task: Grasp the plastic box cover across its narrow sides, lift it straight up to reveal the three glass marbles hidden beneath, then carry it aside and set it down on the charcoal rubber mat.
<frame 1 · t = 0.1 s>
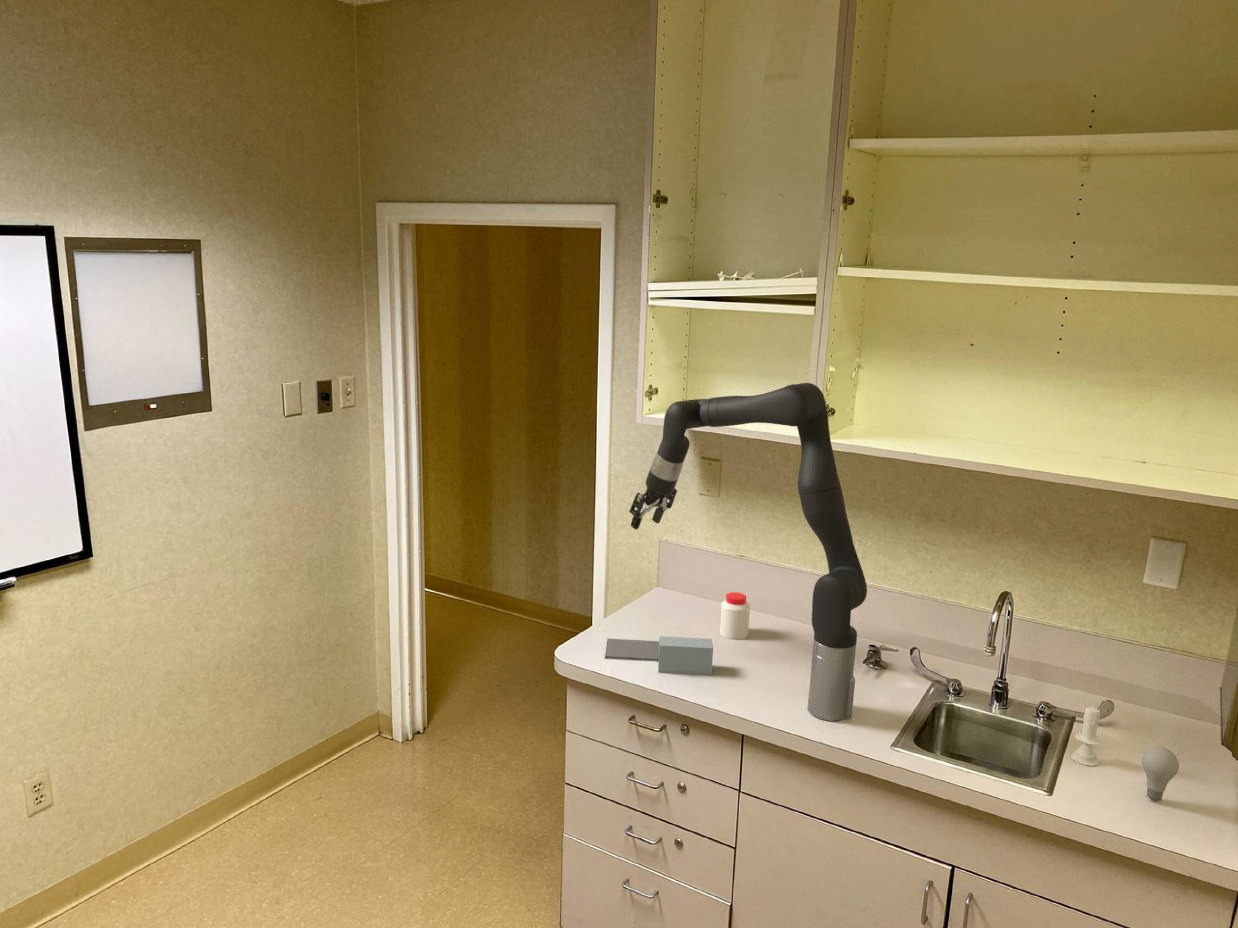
hand: (645, 524, 234), 31 cm above the worktop, tool tilted 20°, fingers open, 8 cm apart
cover: (684, 668, 223), on the worktop
marble amber: (700, 669, 223), on the worktop
marble white: (668, 667, 223), on the worktop
lightbulb: (1153, 801, 174), on the worktop
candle: (1084, 760, 188), on the worktop
pill bottle: (733, 634, 246), on the worktop
marble teal: (684, 662, 223), in the cover
mat: (633, 650, 232), on the worktop
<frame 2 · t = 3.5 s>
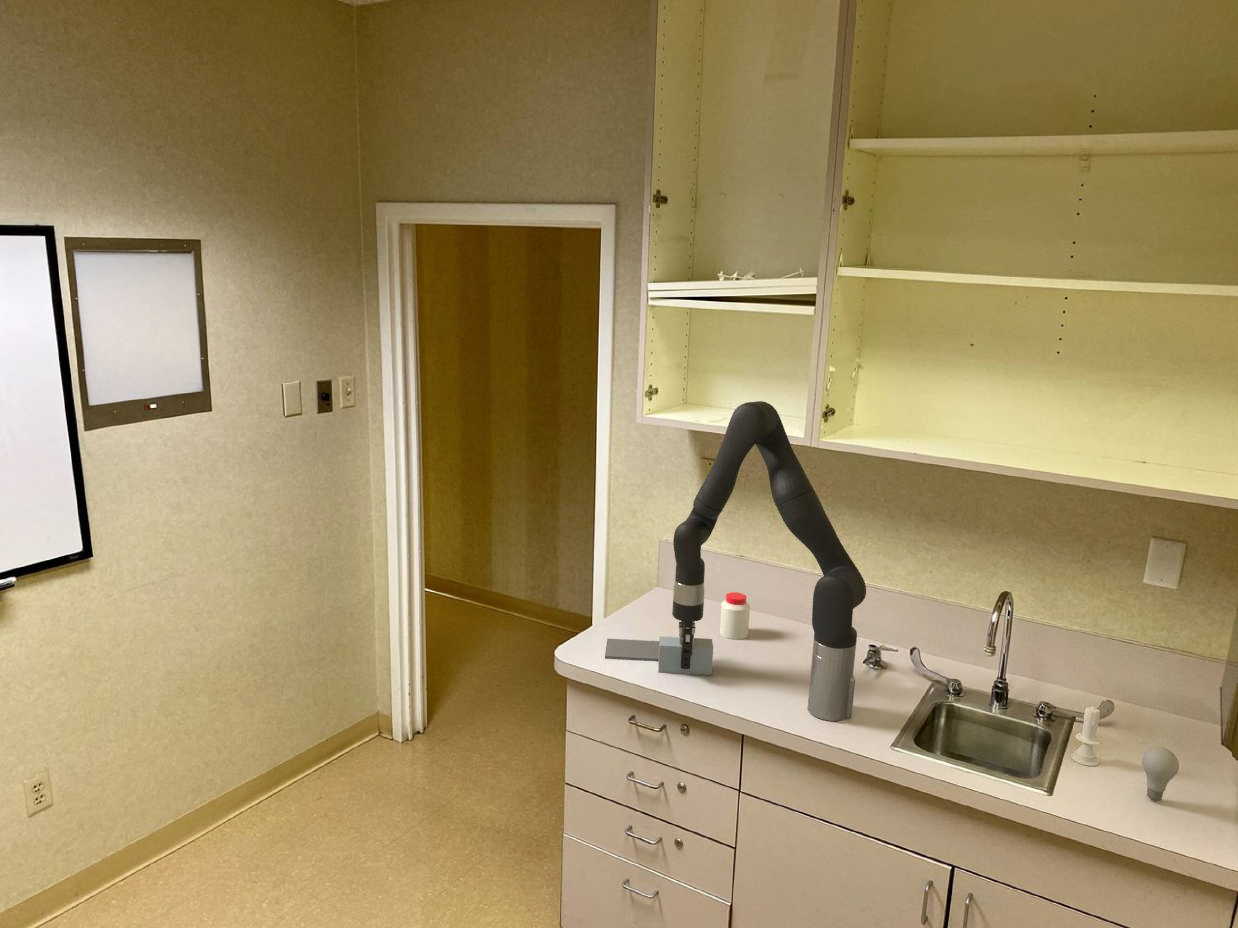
hand: (684, 662, 223), 2 cm above the worktop, tool pointing down, fingers closed on cover, 5 cm apart
cover: (684, 668, 223), on the worktop, touching gripper
everything else where it was.
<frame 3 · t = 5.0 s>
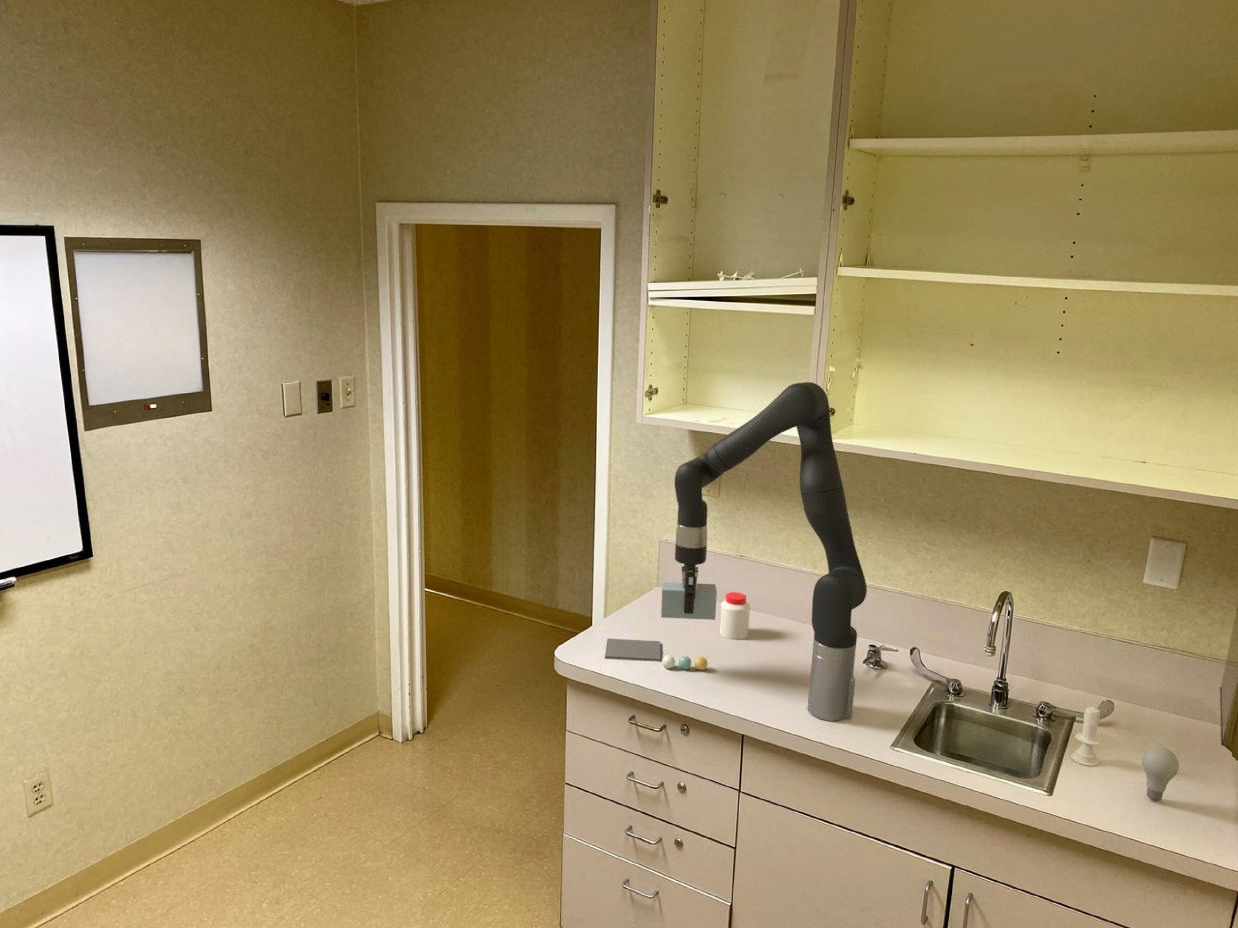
hand: (688, 608, 220), 16 cm above the worktop, tool pointing down, fingers closed on cover, 5 cm apart
cover: (687, 614, 220), point 14 cm above the worktop, touching gripper
everything else where it was.
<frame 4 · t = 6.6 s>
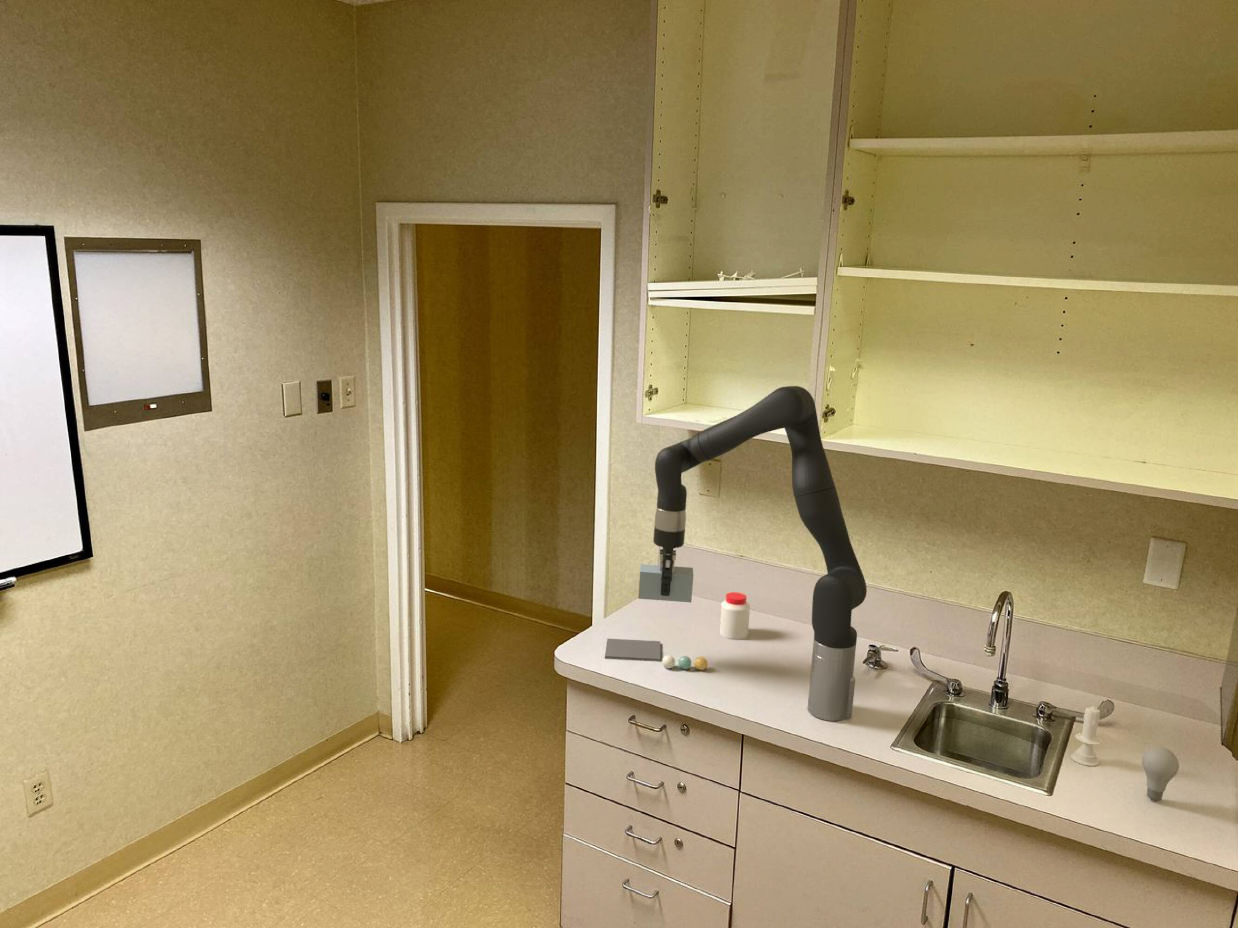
hand: (665, 590, 223), 19 cm above the worktop, tool pointing down, fingers closed on cover, 5 cm apart
cover: (664, 596, 224), point 17 cm above the worktop, touching gripper
everything else where it was.
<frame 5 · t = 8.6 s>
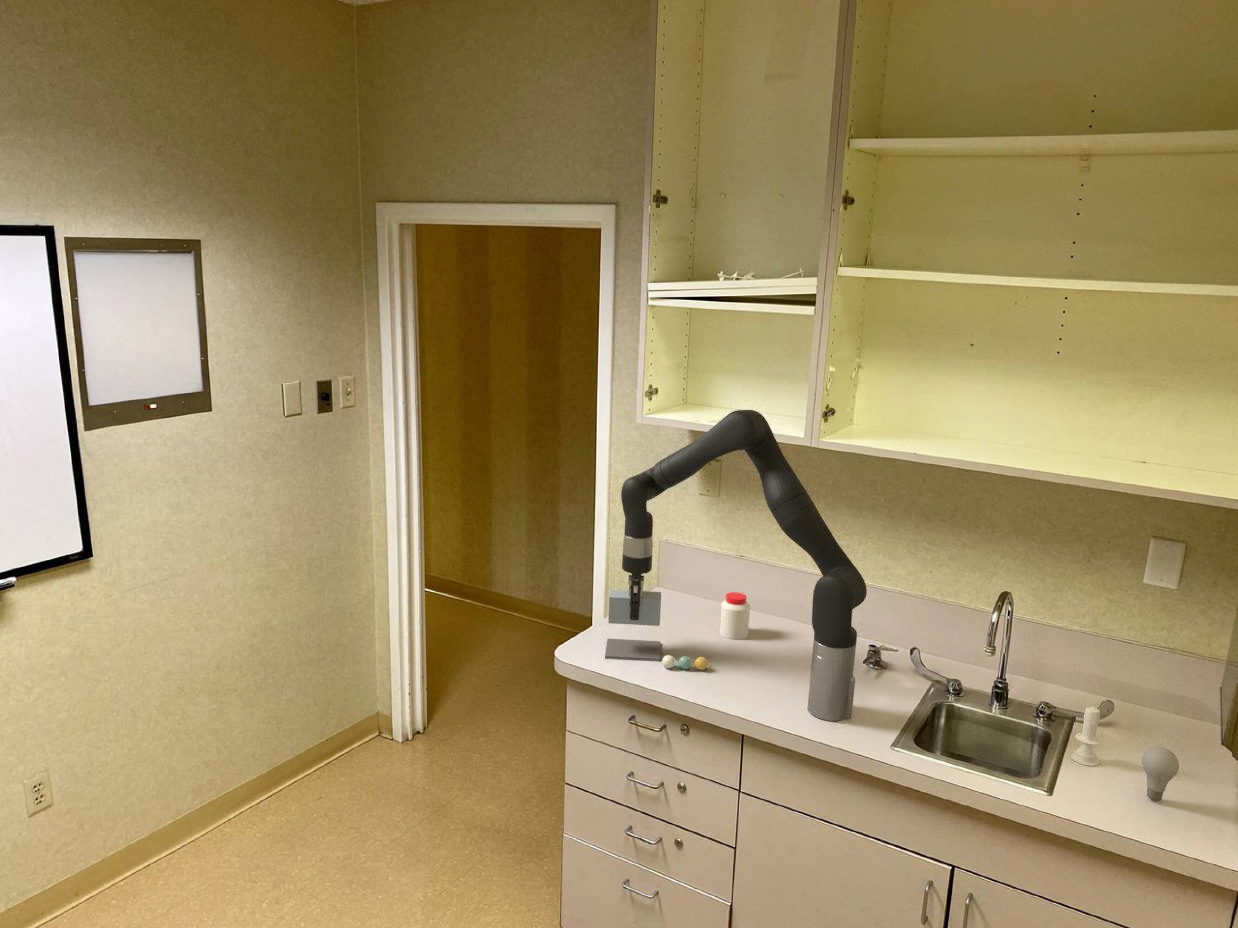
hand: (634, 614, 230), 10 cm above the worktop, tool pointing down, fingers closed on cover, 5 cm apart
cover: (634, 620, 231), point 8 cm above the worktop, touching gripper
everything else where it was.
when the fingers open (4 cm above the worktop, at t = 10.3 s): cover drops 1 cm, resting on mat.
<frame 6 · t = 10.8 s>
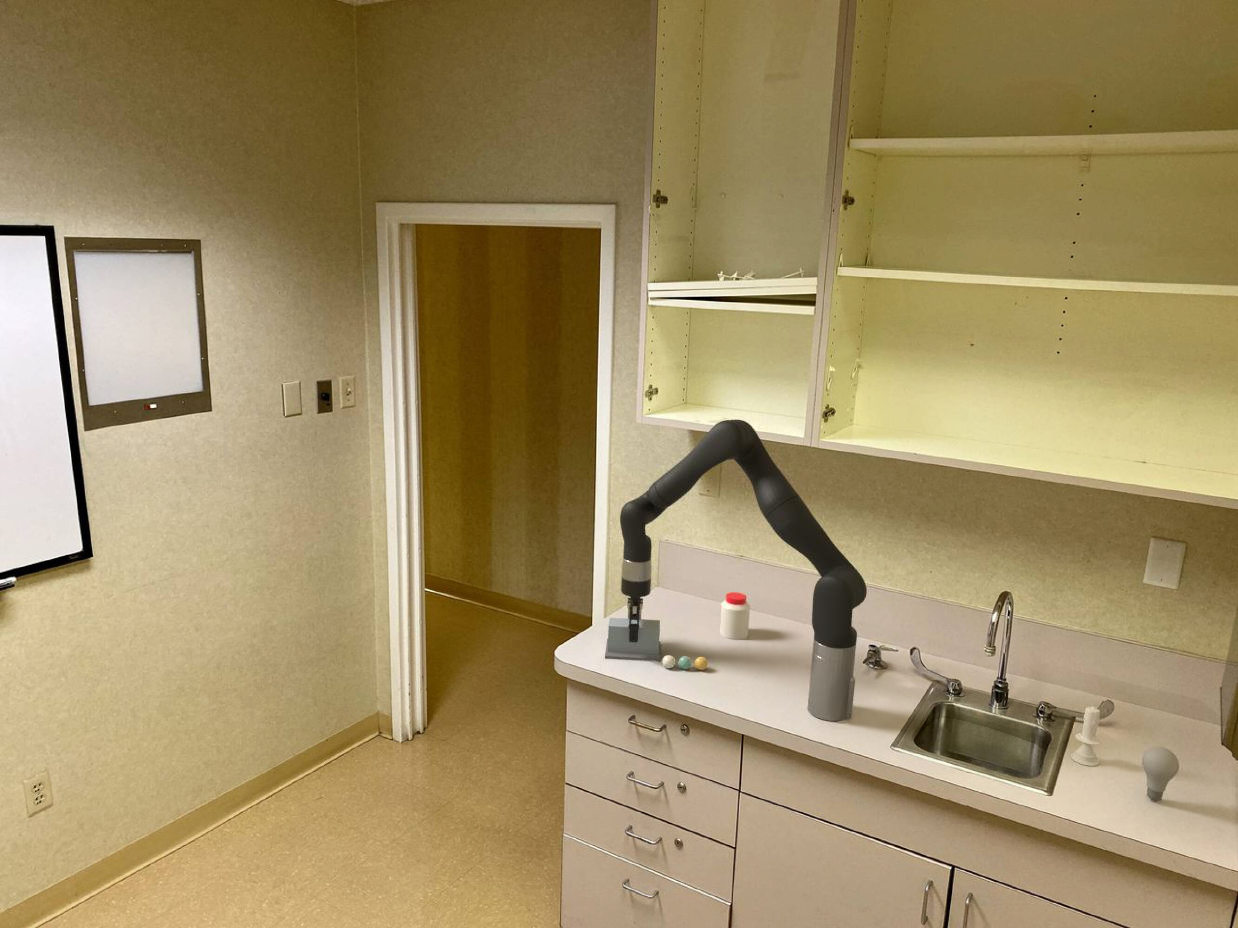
hand: (633, 635, 231), 4 cm above the worktop, tool pointing down, fingers open, 8 cm apart
cover: (633, 648, 232), point 1 cm above the worktop, touching mat
everything else where it was.
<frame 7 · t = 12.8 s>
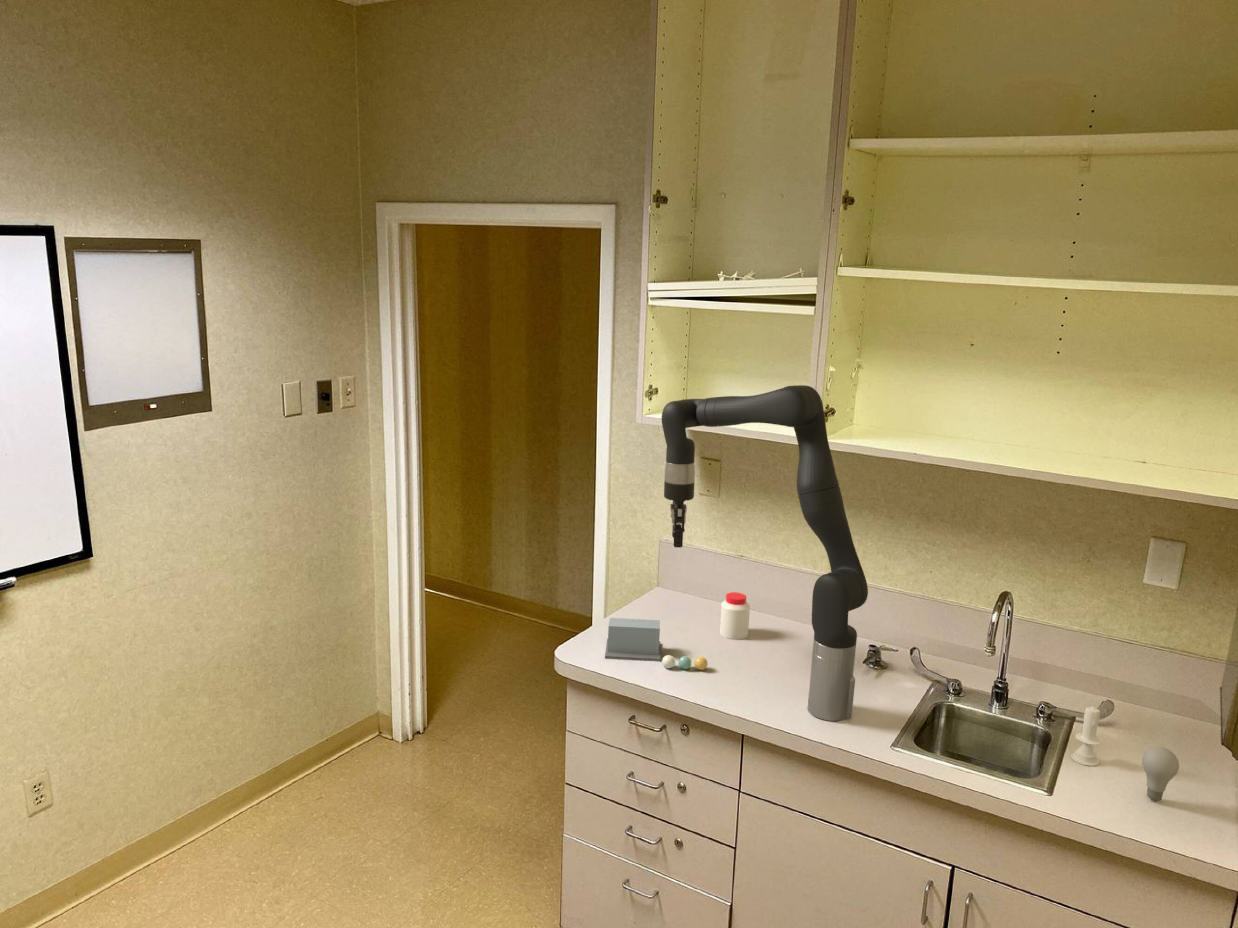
hand: (677, 542, 228), 29 cm above the worktop, tool pointing down, fingers open, 8 cm apart
nothing on the worktop moved.
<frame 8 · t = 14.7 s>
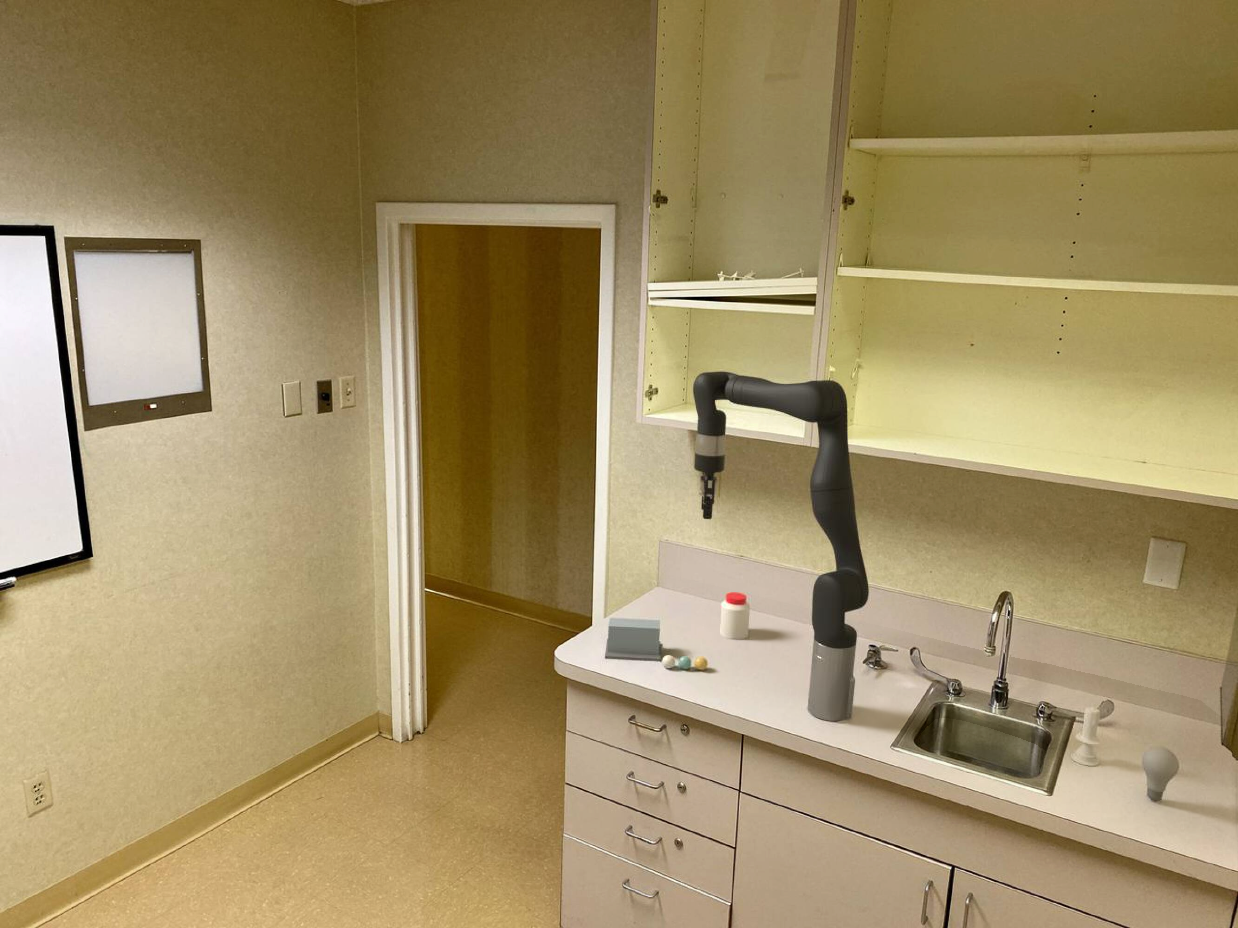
hand: (706, 514, 228), 36 cm above the worktop, tool pointing down, fingers open, 8 cm apart
nothing on the worktop moved.
at the end: cover inside the target area on the mat (0.1 cm from its centre), point 0.6 cm above the mat's base; cover tilted 0°; the gripper is holding nothing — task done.
